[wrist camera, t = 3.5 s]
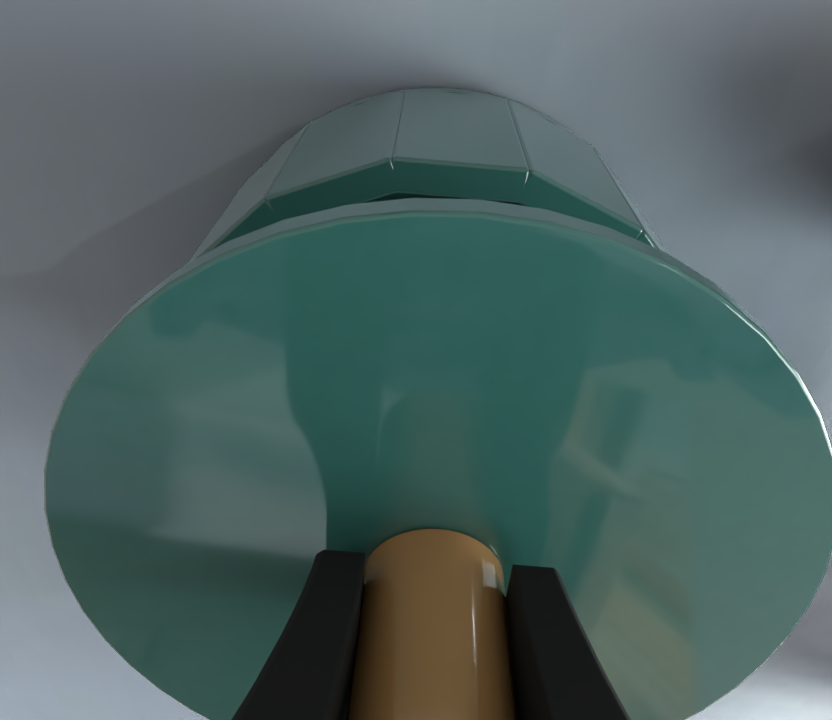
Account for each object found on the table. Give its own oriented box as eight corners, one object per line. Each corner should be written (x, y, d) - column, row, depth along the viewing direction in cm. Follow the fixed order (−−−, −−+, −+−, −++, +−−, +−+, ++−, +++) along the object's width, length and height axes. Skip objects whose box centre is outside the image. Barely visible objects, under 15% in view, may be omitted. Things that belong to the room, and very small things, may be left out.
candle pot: (596, 480, 22) (637, 634, 17) (235, 451, 22) (179, 598, 17) (704, 109, 16) (810, 193, 11) (205, 65, 16) (107, 131, 11)
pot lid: (685, 744, 15) (768, 1035, 11) (130, 701, 15) (20, 980, 11) (953, 222, 9) (1359, 474, 5) (-7, 139, 9) (-379, 331, 5)
